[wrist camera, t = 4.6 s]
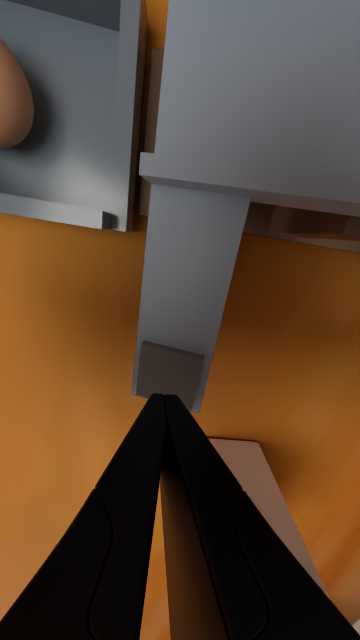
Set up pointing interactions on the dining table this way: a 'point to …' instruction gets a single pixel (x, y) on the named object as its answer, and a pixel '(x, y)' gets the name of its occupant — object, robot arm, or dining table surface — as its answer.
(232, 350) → the dining table surface
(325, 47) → the lever
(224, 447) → the jar
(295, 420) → the dining table surface
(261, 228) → the catapult base
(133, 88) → the grey open box
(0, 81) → the ball
